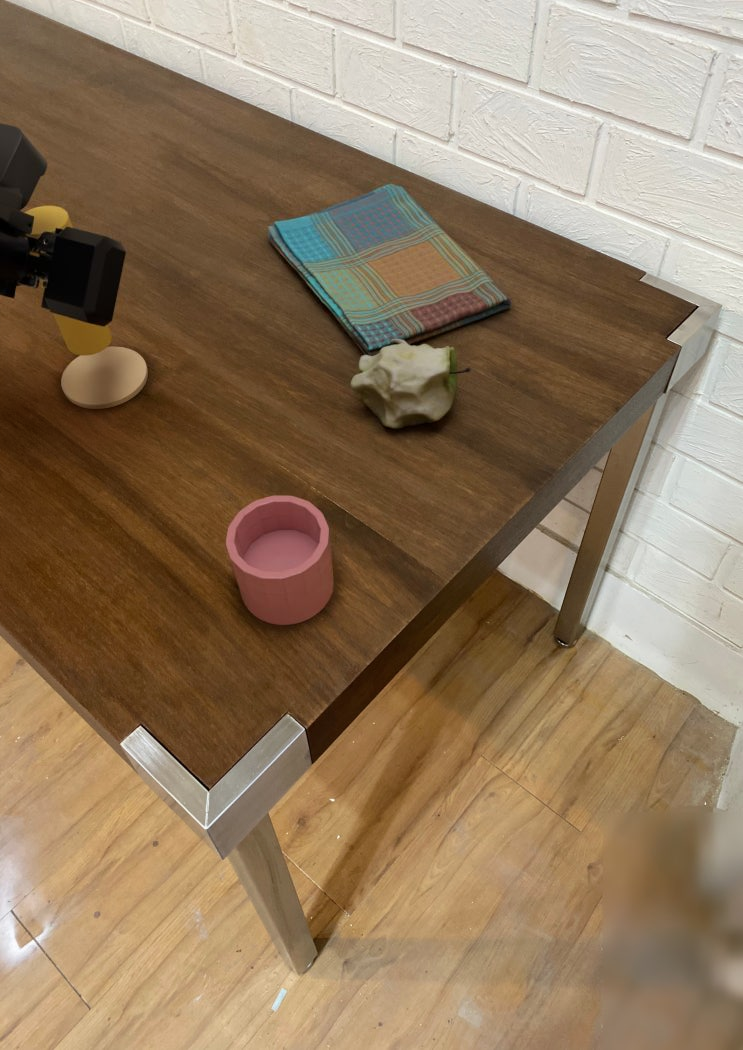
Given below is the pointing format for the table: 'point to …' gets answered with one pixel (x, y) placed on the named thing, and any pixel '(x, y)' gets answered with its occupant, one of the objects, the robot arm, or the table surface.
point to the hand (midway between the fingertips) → (78, 278)
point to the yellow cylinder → (75, 332)
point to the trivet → (104, 378)
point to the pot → (281, 559)
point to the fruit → (408, 383)
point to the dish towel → (386, 269)
